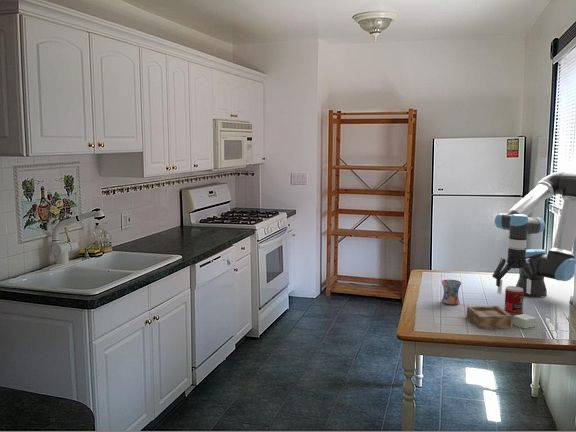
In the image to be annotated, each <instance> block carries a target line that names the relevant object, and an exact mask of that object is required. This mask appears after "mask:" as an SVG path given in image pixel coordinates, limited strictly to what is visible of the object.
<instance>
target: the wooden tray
mask: <svg viewBox="0 0 576 432" xmlns="http://www.w3.org/2000/svg"><path fill="white" fill-rule="evenodd" d="M466 318H467V320H469V321H470V322H471V323H472V324H473V325H474V326H475V327H477V328H478V329H512V323H513V322H512V321H513V315H511V313H508V312H506V311H505V309H503V308H501V307H500V306H498V305H486V306H485V305H483V306H482V305H480V306H477V305H476V306H473V305H472V306H469V305H468V306H466Z"/></svg>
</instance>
